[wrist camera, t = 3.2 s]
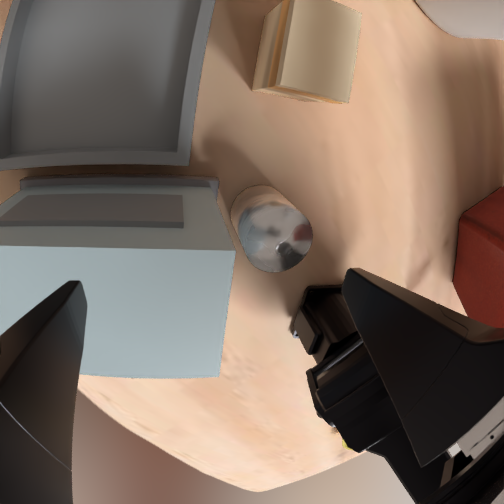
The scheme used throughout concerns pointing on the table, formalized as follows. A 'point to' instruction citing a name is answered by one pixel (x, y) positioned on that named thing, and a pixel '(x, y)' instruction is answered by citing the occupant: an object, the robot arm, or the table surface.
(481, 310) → the plant pot
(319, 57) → the block
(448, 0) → the cylinder vase
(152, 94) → the parts tray
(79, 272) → the box
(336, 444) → the table surface
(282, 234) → the chrome-capped short cylinder
